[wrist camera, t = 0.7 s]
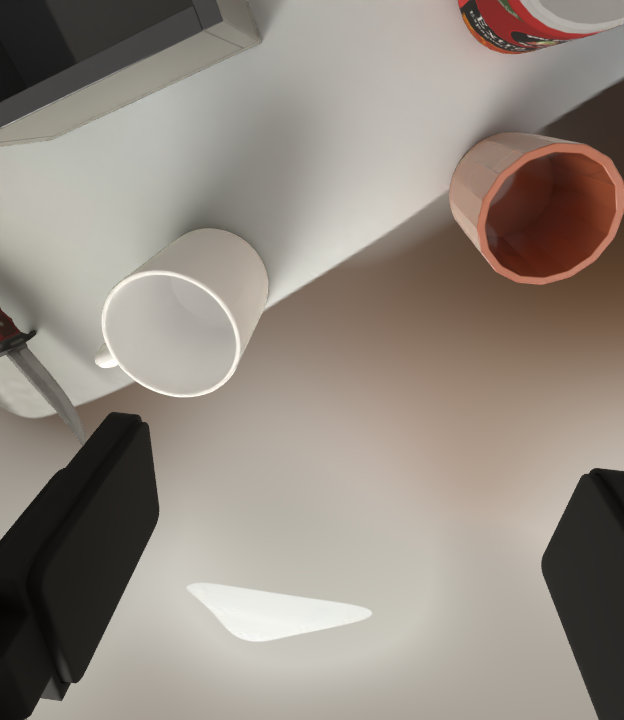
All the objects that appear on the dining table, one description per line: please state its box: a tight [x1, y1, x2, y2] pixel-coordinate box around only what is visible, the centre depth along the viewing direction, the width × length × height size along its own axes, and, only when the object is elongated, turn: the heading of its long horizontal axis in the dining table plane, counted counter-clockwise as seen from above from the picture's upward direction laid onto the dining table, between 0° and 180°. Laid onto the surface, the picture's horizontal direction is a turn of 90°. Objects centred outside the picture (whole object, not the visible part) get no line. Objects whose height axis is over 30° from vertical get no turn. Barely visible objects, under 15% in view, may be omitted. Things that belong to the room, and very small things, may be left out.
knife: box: [0, 308, 85, 446], centre depth 38 cm, size 17×1×5 cm, turn 33°
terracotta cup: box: [449, 132, 624, 284], centre depth 27 cm, size 7×7×9 cm
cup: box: [95, 228, 269, 397], centre depth 32 cm, size 8×12×10 cm
